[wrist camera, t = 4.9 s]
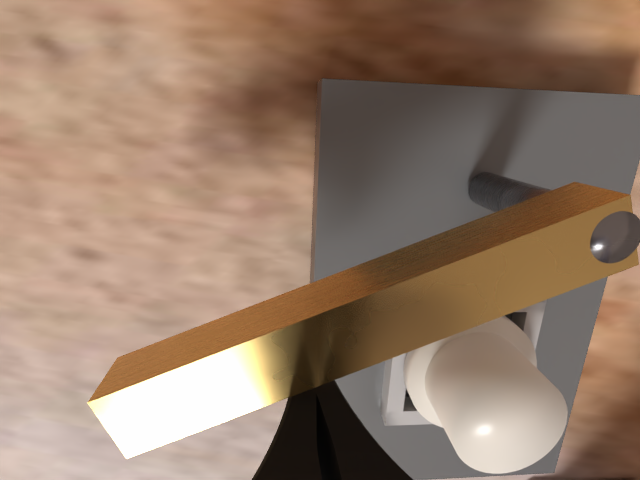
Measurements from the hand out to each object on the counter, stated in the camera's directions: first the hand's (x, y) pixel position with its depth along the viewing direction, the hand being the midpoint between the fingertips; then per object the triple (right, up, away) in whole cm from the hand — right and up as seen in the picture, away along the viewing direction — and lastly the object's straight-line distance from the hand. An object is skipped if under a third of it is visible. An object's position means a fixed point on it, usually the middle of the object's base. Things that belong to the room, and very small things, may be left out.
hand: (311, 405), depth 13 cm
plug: (+7, 0, +7) cm, 10 cm away
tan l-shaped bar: (+1, +5, +4) cm, 7 cm away
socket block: (+7, +2, +8) cm, 11 cm away
